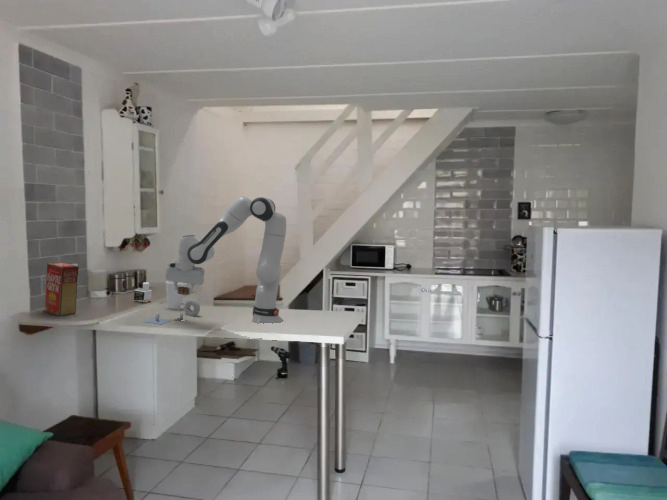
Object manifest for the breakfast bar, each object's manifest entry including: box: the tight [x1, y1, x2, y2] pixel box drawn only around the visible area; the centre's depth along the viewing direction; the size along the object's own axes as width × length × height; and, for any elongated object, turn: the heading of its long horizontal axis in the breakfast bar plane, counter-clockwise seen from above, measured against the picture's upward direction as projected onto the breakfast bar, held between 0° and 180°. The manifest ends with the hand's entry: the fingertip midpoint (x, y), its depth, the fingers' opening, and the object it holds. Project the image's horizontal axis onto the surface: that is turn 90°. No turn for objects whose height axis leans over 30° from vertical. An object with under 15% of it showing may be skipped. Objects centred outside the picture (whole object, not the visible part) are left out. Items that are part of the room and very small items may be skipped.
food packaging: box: [43, 261, 80, 317], centre depth 252 cm, size 13×9×25 cm
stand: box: [173, 313, 184, 322], centre depth 263 cm, size 6×6×4 cm
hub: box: [143, 312, 171, 325], centre depth 255 cm, size 10×10×5 cm
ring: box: [177, 286, 191, 296], centre depth 261 cm, size 6×6×3 cm
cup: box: [165, 280, 188, 311], centre depth 287 cm, size 12×12×16 cm
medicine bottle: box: [133, 281, 153, 301], centre depth 296 cm, size 7×7×12 cm
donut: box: [183, 298, 201, 317], centre depth 275 cm, size 10×4×10 cm, turn 68°
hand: (183, 290), depth 261 cm, fingers closed on ring, 6 cm apart
